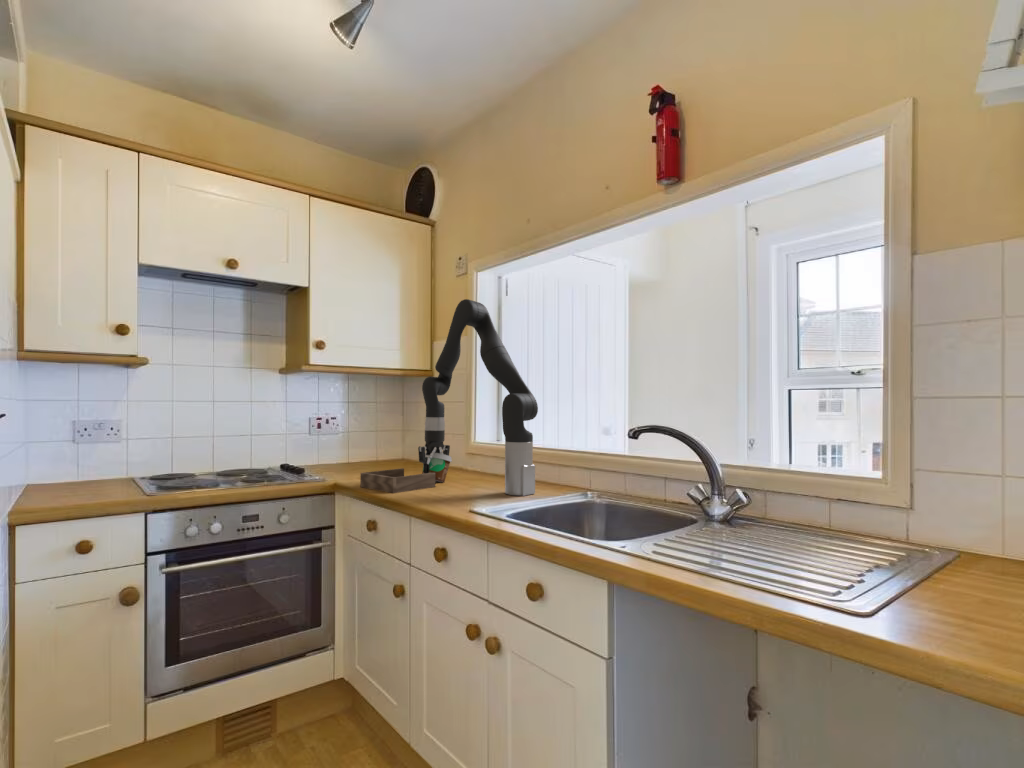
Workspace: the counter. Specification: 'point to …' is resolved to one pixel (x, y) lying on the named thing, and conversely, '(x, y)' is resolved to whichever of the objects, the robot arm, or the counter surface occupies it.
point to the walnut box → (396, 481)
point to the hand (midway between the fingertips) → (433, 473)
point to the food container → (439, 466)
